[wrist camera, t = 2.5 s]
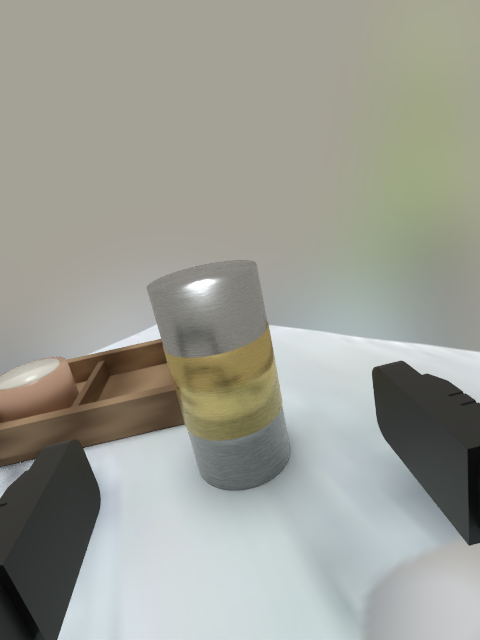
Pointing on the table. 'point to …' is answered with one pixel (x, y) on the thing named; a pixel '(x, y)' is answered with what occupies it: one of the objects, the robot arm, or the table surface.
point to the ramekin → (36, 389)
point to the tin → (223, 371)
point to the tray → (102, 403)
